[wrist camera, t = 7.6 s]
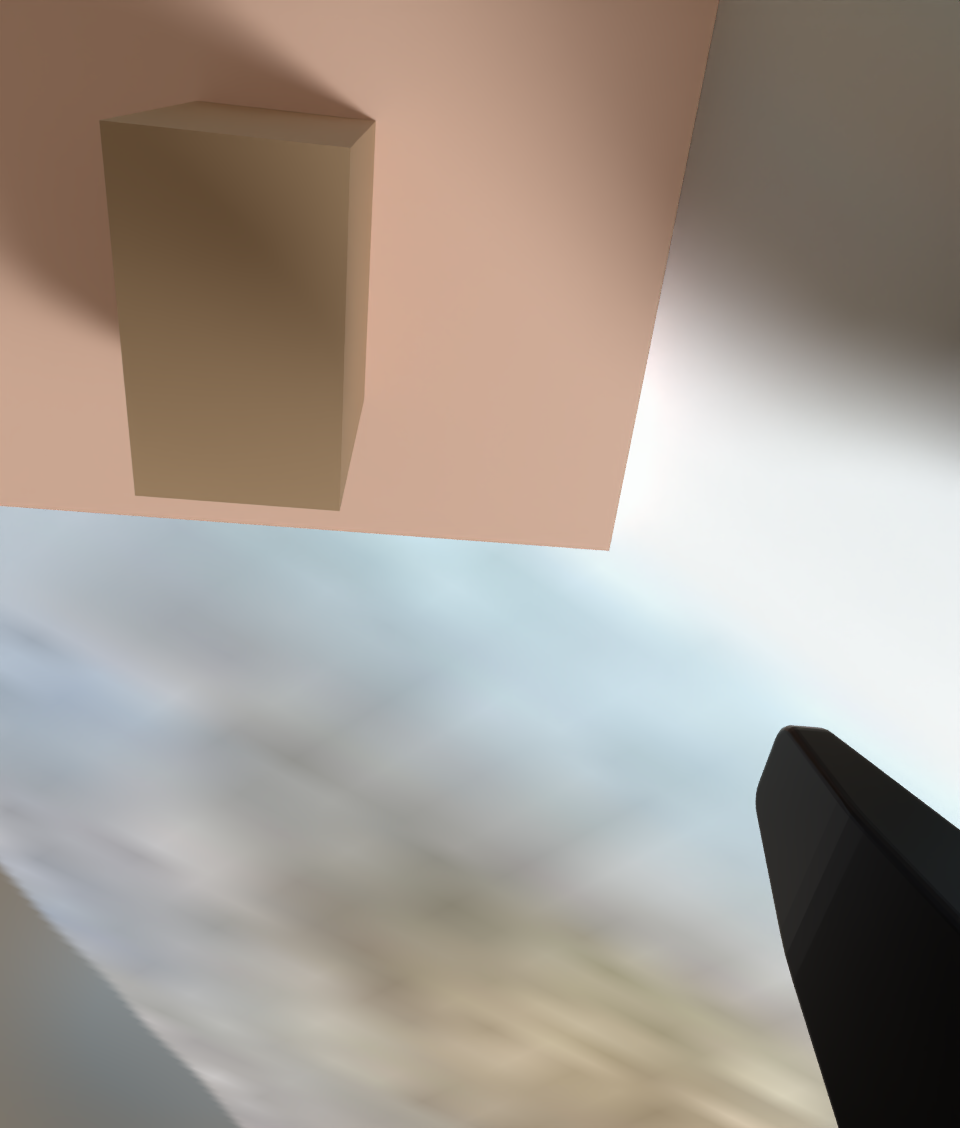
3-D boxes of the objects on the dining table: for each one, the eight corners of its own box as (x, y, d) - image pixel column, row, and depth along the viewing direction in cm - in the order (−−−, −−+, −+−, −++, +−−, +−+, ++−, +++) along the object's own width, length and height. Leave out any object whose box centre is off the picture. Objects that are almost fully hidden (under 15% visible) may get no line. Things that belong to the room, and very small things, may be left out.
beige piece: (709, -41, 15) (855, -92, 10) (600, 525, 21) (656, 691, 15) (-149, -155, 14) (-509, -280, 9) (-28, 477, 20) (-205, 638, 14)
